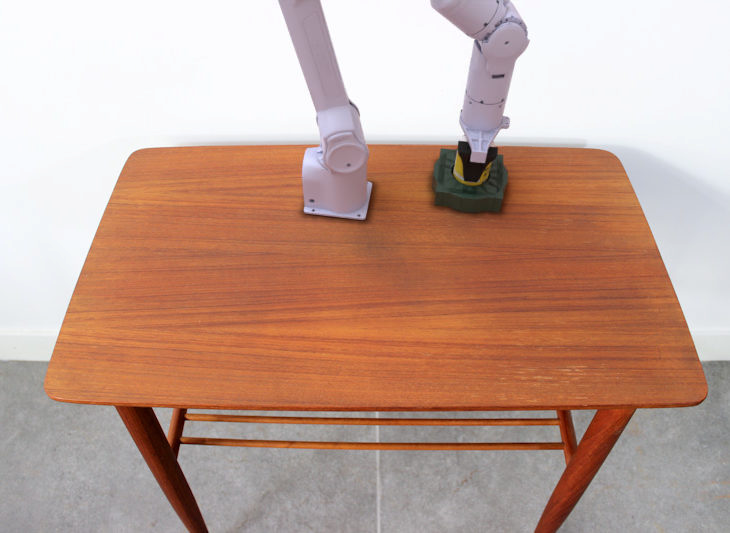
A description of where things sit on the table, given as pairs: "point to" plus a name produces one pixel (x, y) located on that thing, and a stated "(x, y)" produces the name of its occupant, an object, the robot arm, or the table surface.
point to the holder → (468, 196)
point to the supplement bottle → (459, 170)
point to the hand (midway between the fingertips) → (471, 167)
